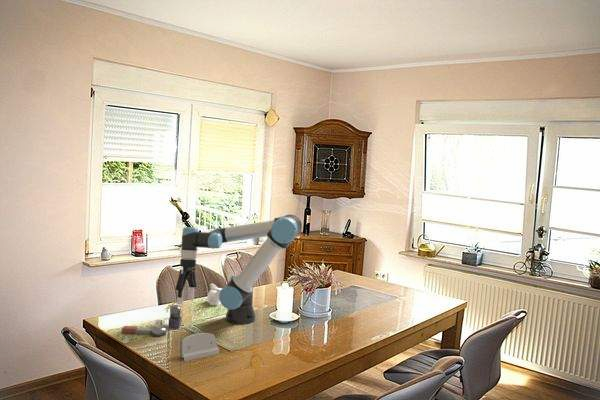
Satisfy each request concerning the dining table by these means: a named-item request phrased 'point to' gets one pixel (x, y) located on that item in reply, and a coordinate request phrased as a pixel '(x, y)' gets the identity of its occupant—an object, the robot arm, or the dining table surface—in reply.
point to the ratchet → (146, 330)
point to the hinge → (198, 346)
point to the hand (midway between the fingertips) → (185, 302)
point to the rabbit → (214, 295)
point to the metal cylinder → (175, 317)
